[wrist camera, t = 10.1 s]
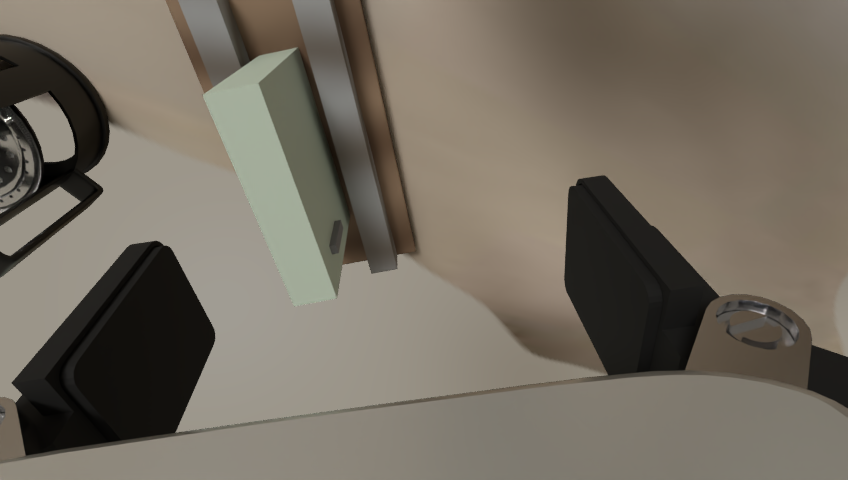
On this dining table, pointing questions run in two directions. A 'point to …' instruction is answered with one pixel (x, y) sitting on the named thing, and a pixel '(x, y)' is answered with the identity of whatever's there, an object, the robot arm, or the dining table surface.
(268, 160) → the door panel
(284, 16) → the door track
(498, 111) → the dining table surface
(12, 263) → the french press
